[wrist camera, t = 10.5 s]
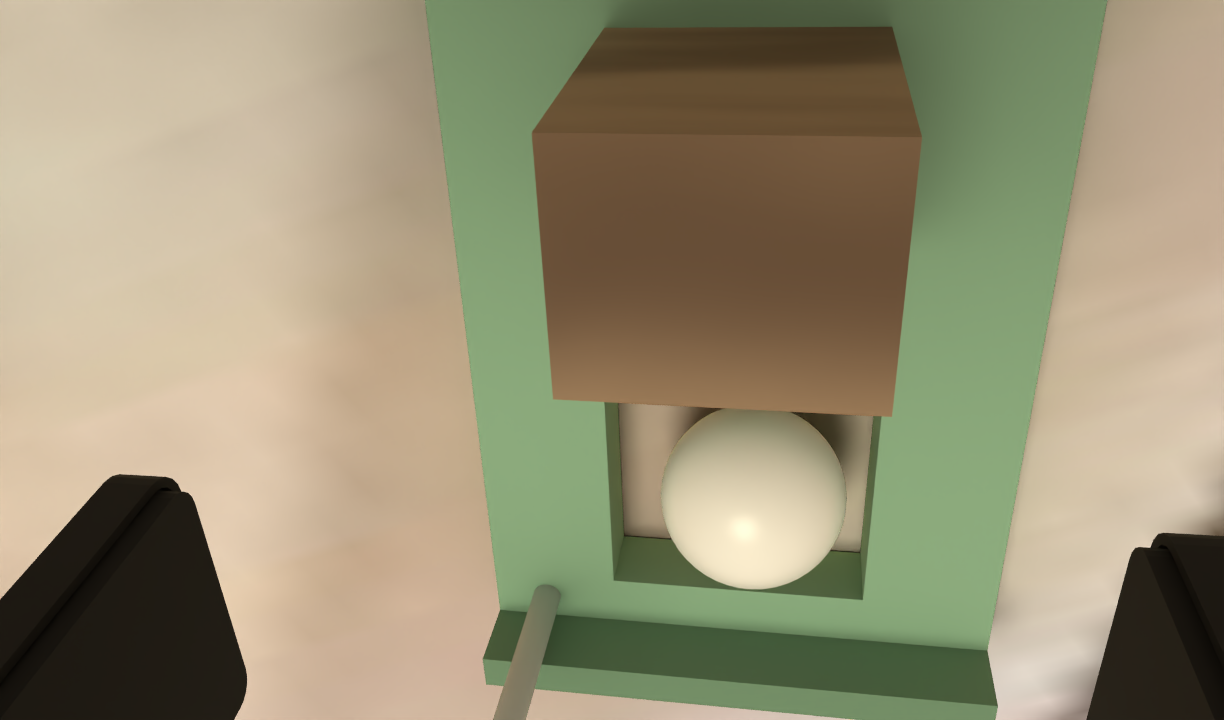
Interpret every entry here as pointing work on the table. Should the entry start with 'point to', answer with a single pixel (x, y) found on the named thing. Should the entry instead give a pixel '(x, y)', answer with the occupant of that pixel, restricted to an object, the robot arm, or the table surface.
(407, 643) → the table surface
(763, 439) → the ball
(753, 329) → the block
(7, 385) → the table surface
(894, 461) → the green
